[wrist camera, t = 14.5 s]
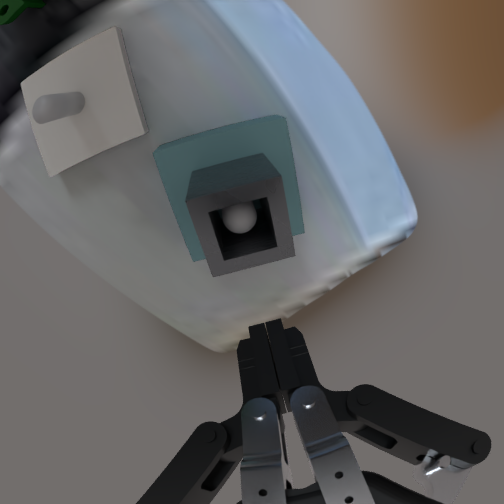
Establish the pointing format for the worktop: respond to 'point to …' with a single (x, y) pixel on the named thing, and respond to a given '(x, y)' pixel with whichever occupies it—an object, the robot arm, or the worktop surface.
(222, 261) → the metal collar
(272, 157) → the block
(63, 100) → the rod stand
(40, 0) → the clamp
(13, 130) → the worktop surface
